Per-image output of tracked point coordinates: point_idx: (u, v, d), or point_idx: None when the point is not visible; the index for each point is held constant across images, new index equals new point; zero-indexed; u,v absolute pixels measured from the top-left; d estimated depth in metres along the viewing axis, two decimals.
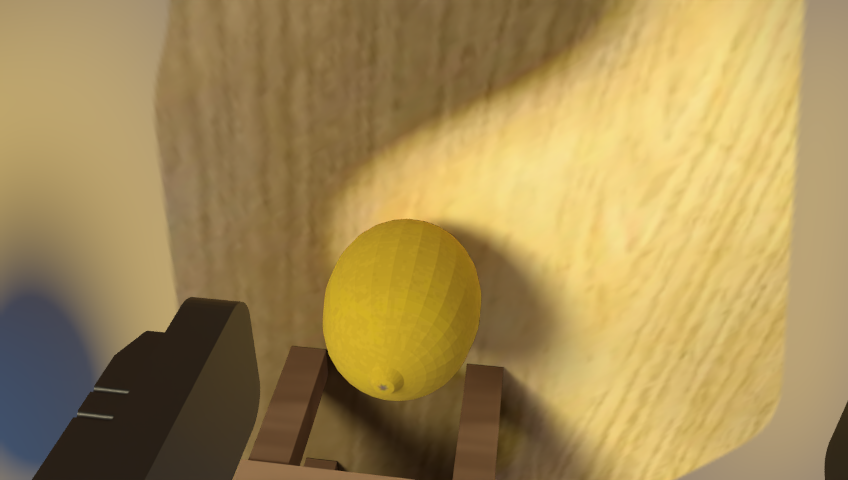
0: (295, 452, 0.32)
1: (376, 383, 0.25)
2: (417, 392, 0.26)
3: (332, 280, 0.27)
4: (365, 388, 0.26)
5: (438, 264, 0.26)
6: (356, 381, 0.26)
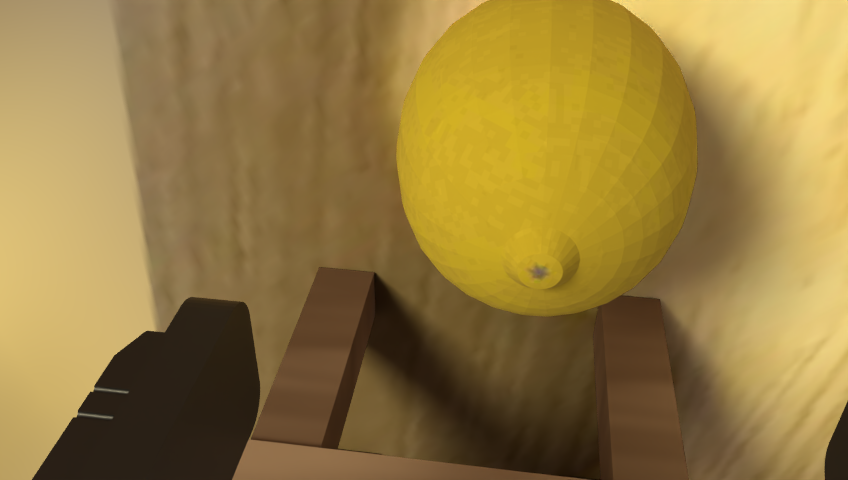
0: (331, 428, 0.19)
1: (526, 262, 0.12)
2: (597, 291, 0.13)
3: (418, 83, 0.14)
4: (491, 283, 0.13)
5: (635, 38, 0.13)
6: (474, 268, 0.13)
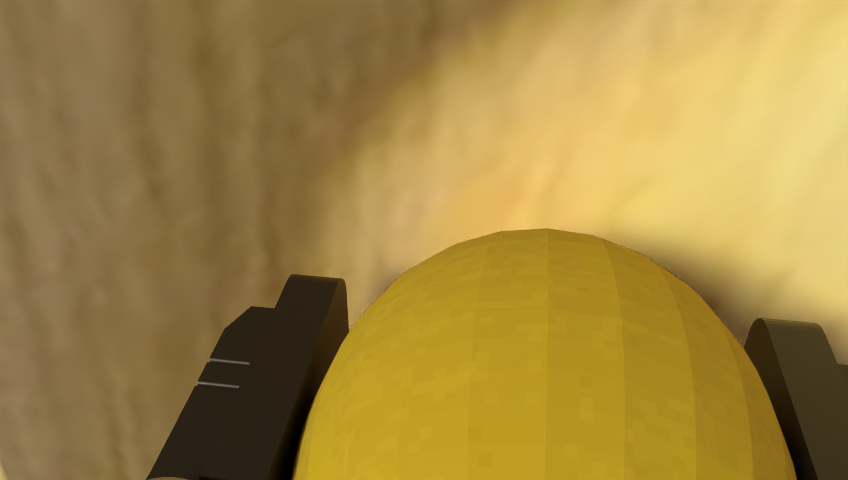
0: None
1: None
2: None
3: (315, 431, 0.08)
4: None
5: (700, 389, 0.07)
6: None
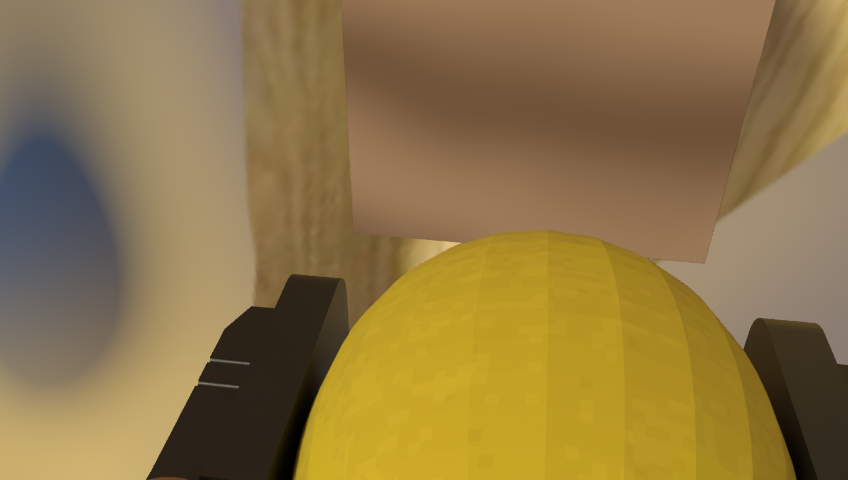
0: None
1: None
2: None
3: (316, 432, 0.08)
4: None
5: (700, 390, 0.07)
6: None
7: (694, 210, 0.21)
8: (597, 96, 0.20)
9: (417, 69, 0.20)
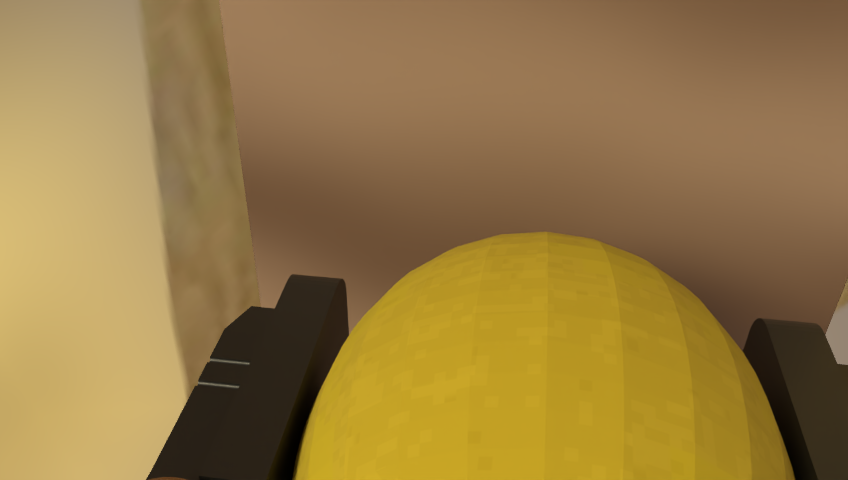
0: None
1: None
2: None
3: (315, 434, 0.08)
4: None
5: (699, 391, 0.07)
6: None
7: None
8: None
9: (354, 219, 0.13)
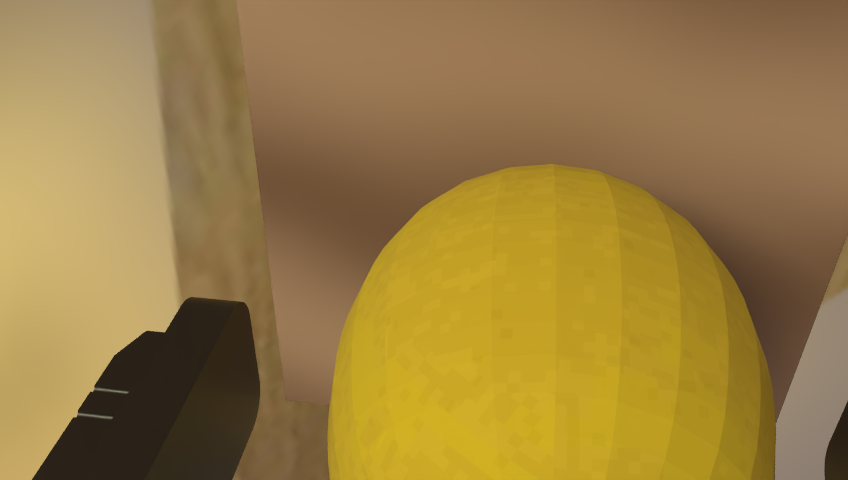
0: None
1: None
2: None
3: (356, 330, 0.09)
4: None
5: (684, 282, 0.09)
6: None
7: None
8: None
9: (362, 200, 0.14)
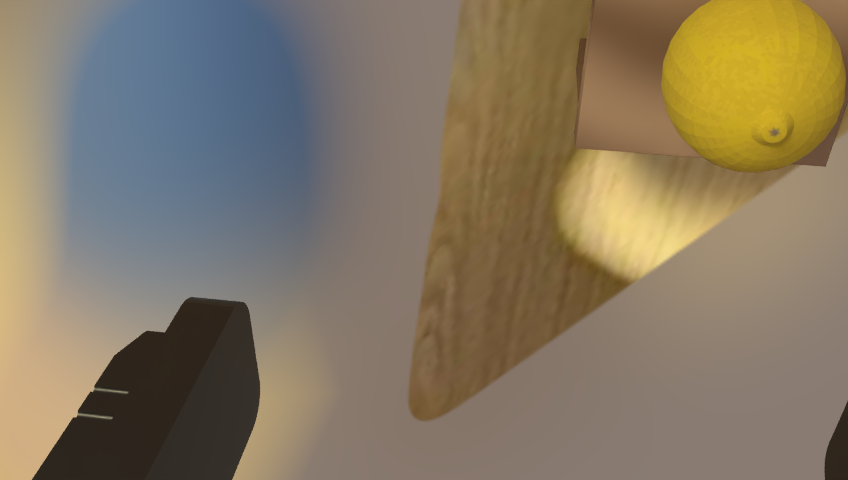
0: None
1: (768, 127, 0.23)
2: (796, 149, 0.24)
3: (688, 40, 0.25)
4: (739, 144, 0.24)
5: (814, 15, 0.24)
6: (731, 135, 0.24)
7: None
8: None
9: (642, 27, 0.30)
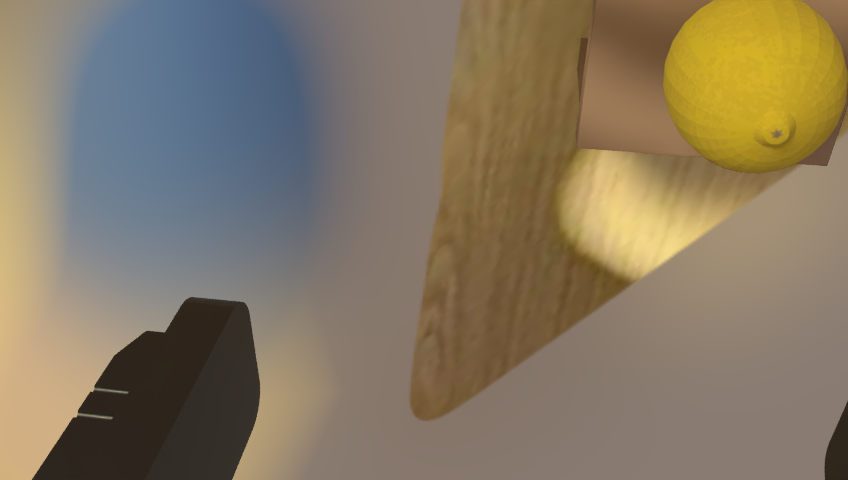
0: None
1: (770, 128, 0.23)
2: (798, 150, 0.24)
3: (690, 41, 0.25)
4: (742, 145, 0.24)
5: (816, 16, 0.24)
6: (733, 137, 0.24)
7: None
8: None
9: (643, 27, 0.30)
